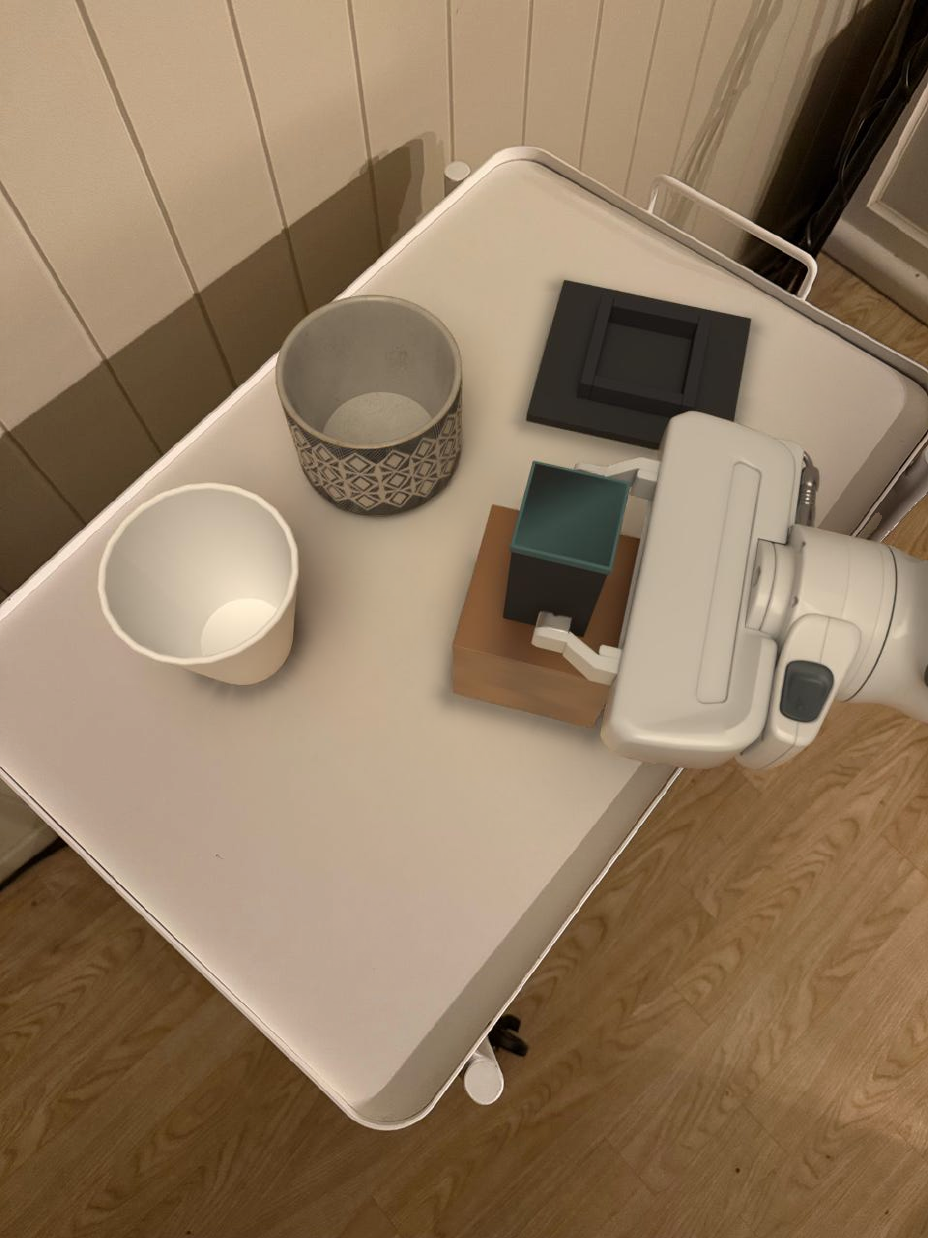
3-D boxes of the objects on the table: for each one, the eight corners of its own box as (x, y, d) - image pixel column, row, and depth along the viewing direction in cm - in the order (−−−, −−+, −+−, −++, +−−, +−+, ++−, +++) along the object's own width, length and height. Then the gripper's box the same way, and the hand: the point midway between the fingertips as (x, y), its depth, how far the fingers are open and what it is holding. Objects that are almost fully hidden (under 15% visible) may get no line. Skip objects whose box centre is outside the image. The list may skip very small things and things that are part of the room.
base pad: (748, 326, 73) (759, 301, 71) (723, 465, 68) (735, 444, 66) (562, 287, 75) (566, 261, 72) (525, 420, 70) (528, 398, 67)
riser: (618, 600, 64) (646, 539, 55) (591, 728, 61) (615, 686, 51) (487, 568, 65) (492, 503, 56) (453, 693, 61) (452, 646, 52)
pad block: (601, 564, 54) (631, 482, 45) (584, 639, 52) (611, 570, 43) (520, 544, 55) (533, 459, 45) (500, 619, 53) (509, 546, 44)
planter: (488, 484, 68) (494, 404, 58) (339, 548, 66) (318, 476, 56) (420, 363, 72) (414, 270, 62) (277, 420, 70) (247, 332, 60)
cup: (292, 741, 60) (253, 689, 49) (135, 692, 61) (60, 630, 50) (350, 590, 64) (327, 509, 53) (202, 547, 66) (147, 459, 54)
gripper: (845, 419, 48) (599, 365, 49) (804, 777, 41) (515, 704, 42) (802, 478, 54) (583, 429, 55) (759, 800, 46) (508, 736, 48)
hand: (553, 550), depth 48 cm, fingers open, 8 cm apart
